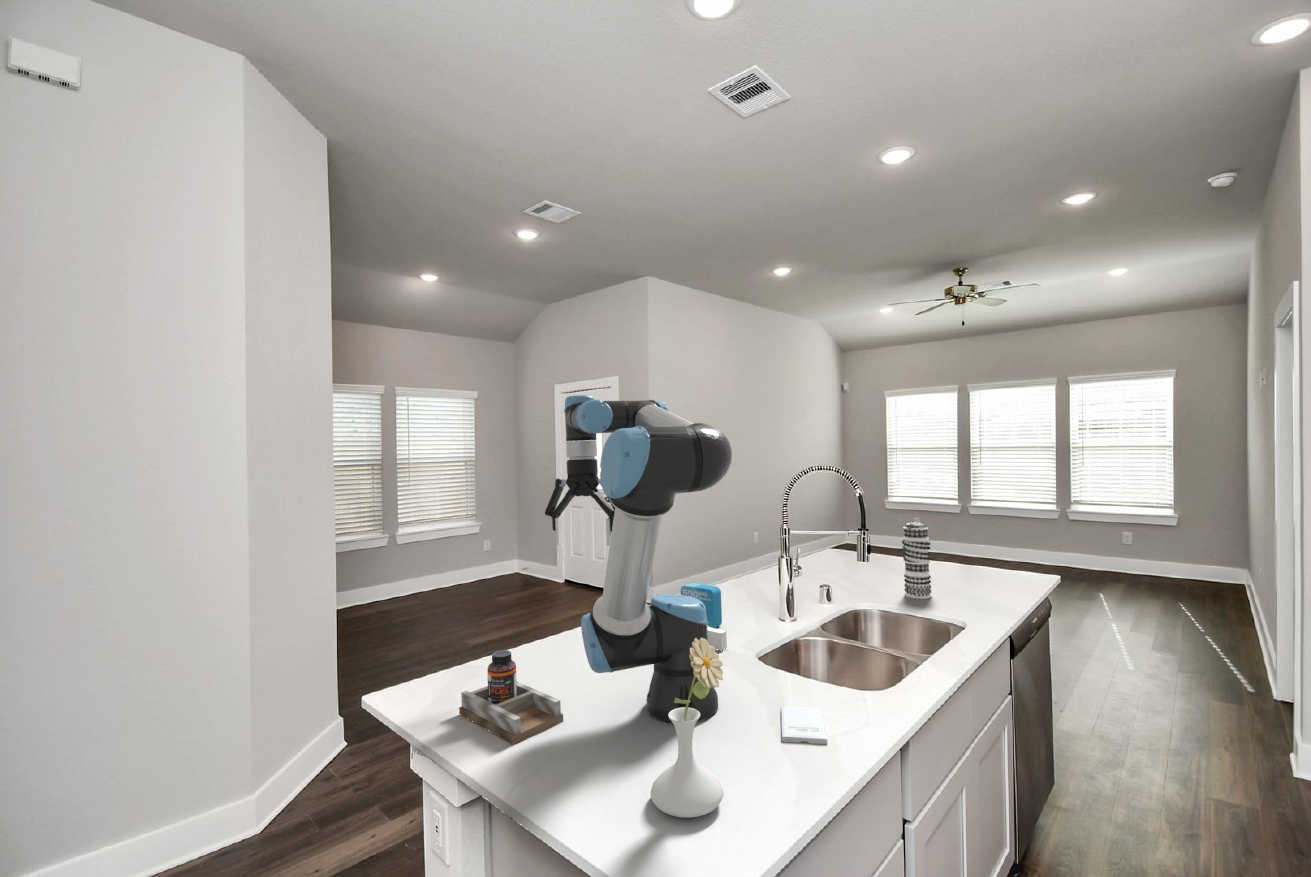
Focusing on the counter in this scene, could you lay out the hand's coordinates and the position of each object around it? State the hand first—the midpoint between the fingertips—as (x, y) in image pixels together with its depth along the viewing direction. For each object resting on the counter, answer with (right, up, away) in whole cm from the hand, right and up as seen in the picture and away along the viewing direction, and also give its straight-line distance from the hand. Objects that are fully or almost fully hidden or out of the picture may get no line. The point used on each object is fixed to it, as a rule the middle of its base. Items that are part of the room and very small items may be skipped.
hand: (584, 544), depth 146 cm
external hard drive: (+46, -31, -30) cm, 63 cm away
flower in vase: (+23, -31, -53) cm, 66 cm away
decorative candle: (+108, -28, +59) cm, 126 cm away
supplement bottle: (-15, -31, -21) cm, 40 cm away
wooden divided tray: (-13, -32, -23) cm, 41 cm away
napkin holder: (+32, -31, +17) cm, 48 cm away
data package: (+32, -31, +34) cm, 56 cm away
